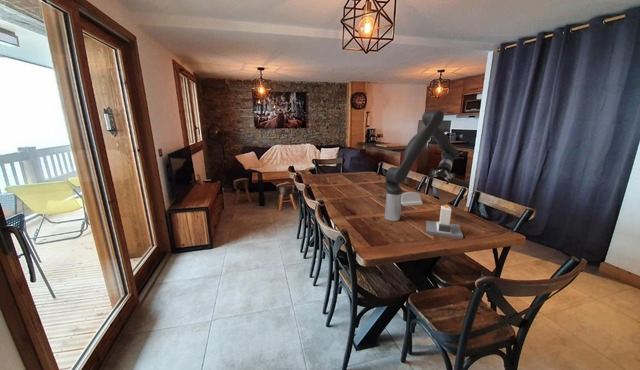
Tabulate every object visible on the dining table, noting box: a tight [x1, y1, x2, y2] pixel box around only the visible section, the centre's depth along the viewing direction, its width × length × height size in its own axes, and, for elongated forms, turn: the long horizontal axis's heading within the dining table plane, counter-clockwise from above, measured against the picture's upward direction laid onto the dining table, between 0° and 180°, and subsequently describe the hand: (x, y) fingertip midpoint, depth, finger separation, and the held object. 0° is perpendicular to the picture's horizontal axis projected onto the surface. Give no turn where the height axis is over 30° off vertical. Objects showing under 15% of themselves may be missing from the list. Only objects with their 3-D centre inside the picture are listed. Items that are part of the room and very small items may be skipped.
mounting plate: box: [425, 220, 464, 240], centre depth 142 cm, size 18×16×2 cm
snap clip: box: [439, 224, 451, 232], centre depth 136 cm, size 6×2×3 cm, turn 68°
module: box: [438, 204, 452, 225], centre depth 139 cm, size 5×6×14 cm
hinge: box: [401, 191, 423, 207], centre depth 188 cm, size 17×5×10 cm, turn 102°
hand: (439, 181), depth 147 cm, fingers open, 8 cm apart
